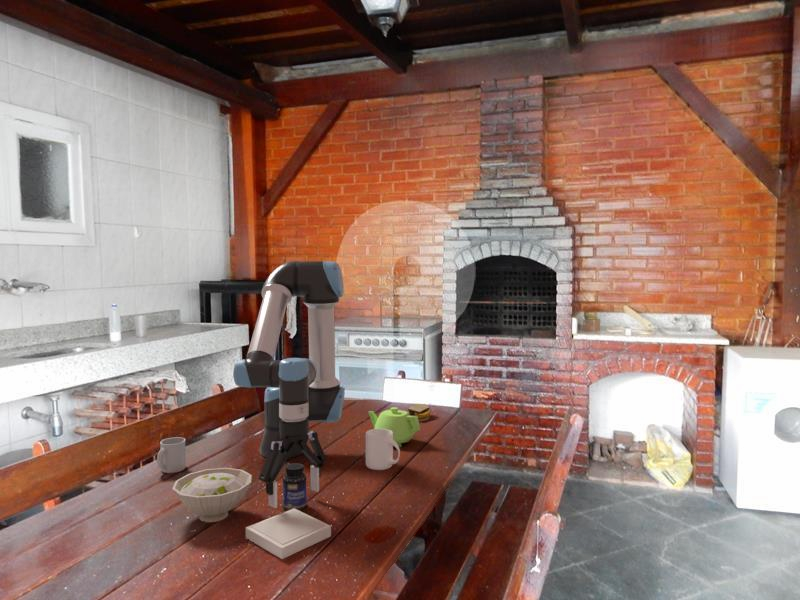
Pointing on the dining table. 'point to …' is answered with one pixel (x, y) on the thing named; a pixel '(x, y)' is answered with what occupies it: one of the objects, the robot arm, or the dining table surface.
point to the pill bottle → (294, 487)
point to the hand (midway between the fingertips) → (294, 498)
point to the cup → (172, 455)
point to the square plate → (288, 533)
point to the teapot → (396, 424)
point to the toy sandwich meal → (420, 412)
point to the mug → (380, 449)
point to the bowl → (212, 491)
